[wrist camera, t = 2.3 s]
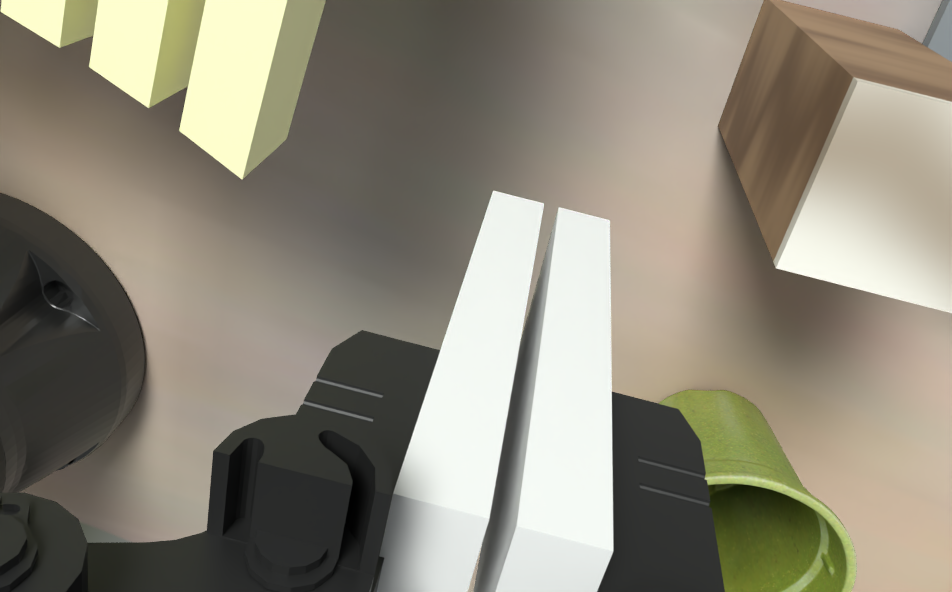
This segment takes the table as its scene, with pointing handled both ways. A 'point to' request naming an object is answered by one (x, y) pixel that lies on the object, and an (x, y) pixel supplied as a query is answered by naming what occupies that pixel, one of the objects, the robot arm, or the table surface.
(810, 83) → the walnut block
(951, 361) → the table surface
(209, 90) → the slatted curved stool
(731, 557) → the plant pot
